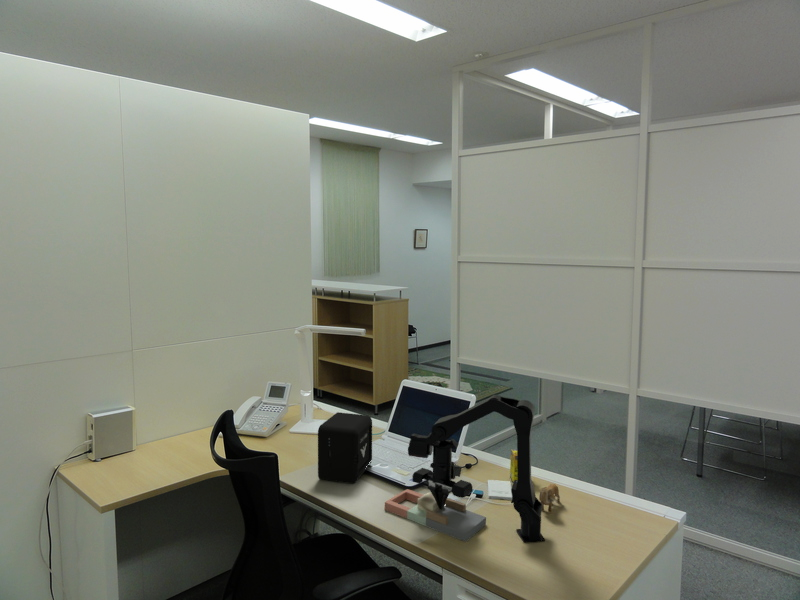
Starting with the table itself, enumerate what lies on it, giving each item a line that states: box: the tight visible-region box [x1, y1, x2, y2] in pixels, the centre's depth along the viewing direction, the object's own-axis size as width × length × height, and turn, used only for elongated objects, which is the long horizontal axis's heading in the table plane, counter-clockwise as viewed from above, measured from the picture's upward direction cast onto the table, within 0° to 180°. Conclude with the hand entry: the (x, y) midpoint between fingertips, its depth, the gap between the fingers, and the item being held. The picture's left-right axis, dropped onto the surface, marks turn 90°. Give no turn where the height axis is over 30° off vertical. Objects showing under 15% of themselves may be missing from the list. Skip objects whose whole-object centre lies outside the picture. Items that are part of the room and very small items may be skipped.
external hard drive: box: [486, 479, 512, 501], centre depth 184 cm, size 2×8×12 cm
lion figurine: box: [538, 483, 561, 514], centre depth 172 cm, size 15×5×9 cm, turn 155°
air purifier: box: [317, 411, 373, 484], centre depth 196 cm, size 20×15×20 cm
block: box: [416, 491, 440, 512], centre depth 166 cm, size 6×6×3 cm
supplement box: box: [509, 449, 518, 483], centre depth 191 cm, size 6×6×11 cm
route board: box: [384, 488, 487, 543], centre depth 165 cm, size 30×12×4 cm, turn 53°
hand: (441, 508), depth 163 cm, fingers closed
